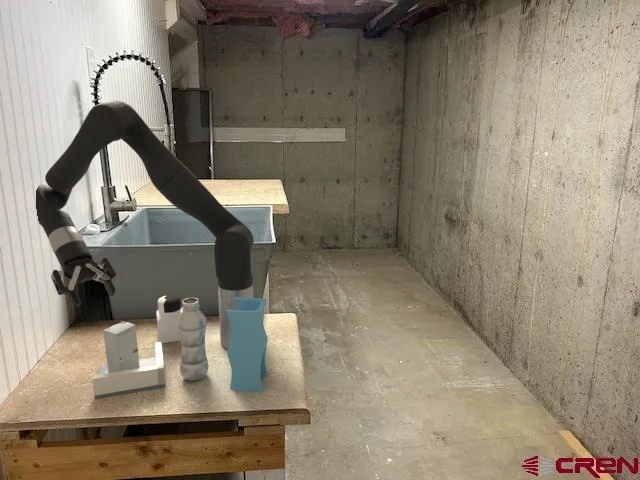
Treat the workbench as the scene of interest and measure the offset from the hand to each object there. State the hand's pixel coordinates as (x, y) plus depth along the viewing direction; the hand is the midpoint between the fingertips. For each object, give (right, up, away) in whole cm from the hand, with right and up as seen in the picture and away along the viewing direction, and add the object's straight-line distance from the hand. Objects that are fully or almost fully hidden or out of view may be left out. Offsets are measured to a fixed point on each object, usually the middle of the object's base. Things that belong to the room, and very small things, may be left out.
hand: (96, 299), depth 120 cm
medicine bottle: (+14, -13, +15) cm, 24 cm away
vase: (+39, -19, -6) cm, 44 cm away
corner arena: (+11, -18, -5) cm, 22 cm away
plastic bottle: (+26, -18, -4) cm, 32 cm away
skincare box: (+9, -17, -5) cm, 20 cm away
